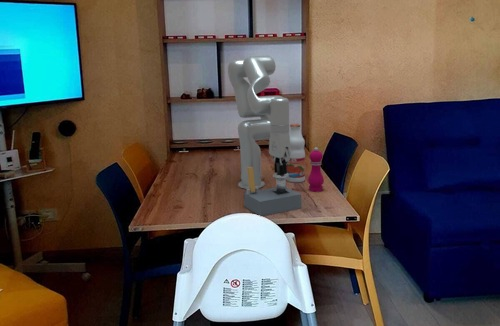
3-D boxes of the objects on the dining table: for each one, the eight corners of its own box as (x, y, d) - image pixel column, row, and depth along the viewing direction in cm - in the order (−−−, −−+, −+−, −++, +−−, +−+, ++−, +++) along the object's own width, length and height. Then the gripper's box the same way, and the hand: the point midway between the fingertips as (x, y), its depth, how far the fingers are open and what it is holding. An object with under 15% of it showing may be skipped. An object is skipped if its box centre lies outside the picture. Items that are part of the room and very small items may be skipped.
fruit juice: (307, 178, 242) (307, 123, 236) (302, 183, 234) (302, 126, 227) (288, 177, 246) (288, 122, 239) (283, 182, 237) (283, 125, 231)
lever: (251, 193, 198) (249, 193, 199) (255, 192, 198) (254, 192, 200) (248, 167, 197) (246, 167, 198) (253, 167, 198) (251, 166, 199)
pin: (270, 190, 201) (269, 162, 199) (283, 187, 204) (283, 160, 201) (278, 194, 196) (277, 165, 193) (291, 191, 199) (291, 162, 196)
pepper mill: (322, 187, 226) (322, 145, 222) (325, 191, 219) (325, 148, 215) (306, 187, 226) (306, 146, 222) (309, 192, 219) (309, 149, 215)
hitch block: (244, 206, 202) (243, 187, 200) (283, 199, 210) (283, 181, 208) (260, 216, 190) (259, 196, 188) (301, 208, 198) (301, 188, 196)
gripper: (261, 127, 200) (262, 170, 204) (282, 132, 185) (282, 178, 189) (277, 125, 203) (278, 168, 207) (298, 130, 189) (299, 176, 193)
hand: (280, 172), depth 198 cm, fingers closed on pin, 3 cm apart
